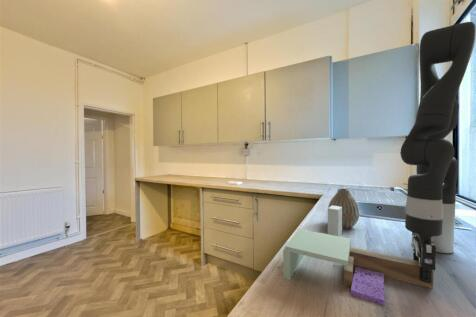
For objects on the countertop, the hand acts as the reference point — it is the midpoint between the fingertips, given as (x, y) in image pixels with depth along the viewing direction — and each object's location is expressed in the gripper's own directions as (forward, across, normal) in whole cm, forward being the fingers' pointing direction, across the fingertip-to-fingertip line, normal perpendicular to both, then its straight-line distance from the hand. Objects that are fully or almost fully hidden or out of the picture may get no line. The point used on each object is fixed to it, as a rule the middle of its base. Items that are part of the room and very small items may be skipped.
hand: (421, 273), depth 58 cm
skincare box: (+3, +22, +24) cm, 32 cm away
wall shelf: (+2, -10, +24) cm, 26 cm away
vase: (+3, +36, +22) cm, 42 cm away
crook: (+2, -5, +8) cm, 10 cm away
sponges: (+3, -10, +12) cm, 16 cm away
